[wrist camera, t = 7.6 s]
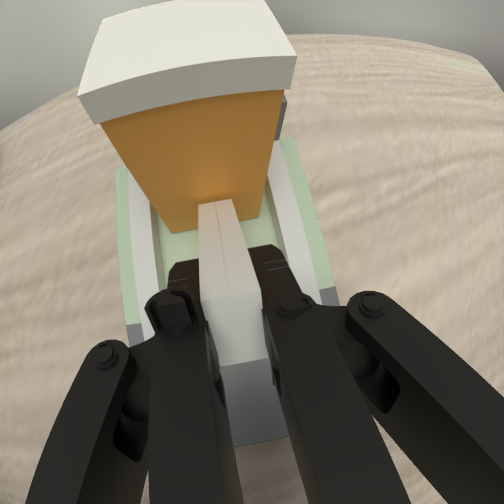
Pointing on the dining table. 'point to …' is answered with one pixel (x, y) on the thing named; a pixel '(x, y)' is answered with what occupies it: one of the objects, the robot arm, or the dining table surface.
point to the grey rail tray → (255, 234)
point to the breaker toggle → (191, 101)
